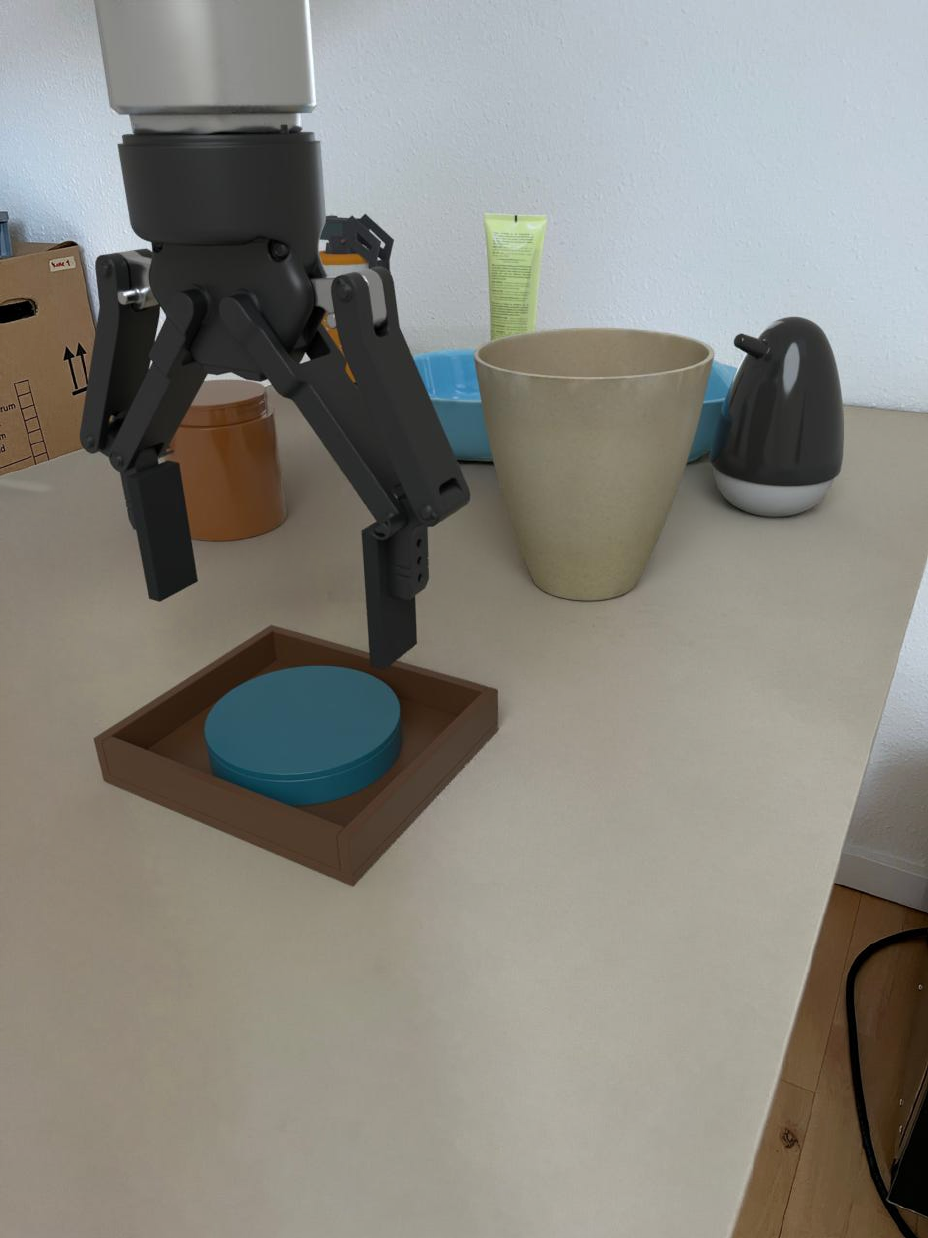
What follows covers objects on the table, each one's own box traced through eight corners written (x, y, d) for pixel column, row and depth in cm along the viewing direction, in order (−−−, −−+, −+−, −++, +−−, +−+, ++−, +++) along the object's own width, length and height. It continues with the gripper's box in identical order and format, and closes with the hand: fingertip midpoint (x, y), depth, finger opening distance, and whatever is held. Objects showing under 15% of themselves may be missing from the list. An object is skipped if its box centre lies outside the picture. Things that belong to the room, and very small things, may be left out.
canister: (350, 380, 119) (338, 208, 109) (419, 392, 113) (412, 212, 104) (300, 396, 112) (282, 215, 103) (370, 409, 107) (358, 219, 97)
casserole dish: (726, 411, 104) (733, 345, 100) (768, 478, 84) (779, 399, 81) (395, 409, 106) (392, 345, 103) (360, 474, 87) (355, 397, 83)
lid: (167, 766, 47) (160, 734, 46) (295, 677, 54) (291, 648, 53) (321, 832, 42) (317, 799, 41) (438, 725, 49) (437, 695, 48)
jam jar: (151, 528, 76) (126, 398, 71) (227, 494, 83) (210, 373, 78) (235, 549, 72) (216, 413, 67) (308, 511, 79) (295, 384, 74)
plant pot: (647, 530, 74) (663, 321, 66) (725, 616, 61) (756, 368, 53) (460, 546, 72) (455, 331, 64) (500, 638, 59) (500, 384, 51)
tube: (526, 380, 118) (528, 210, 108) (543, 389, 113) (547, 213, 104) (484, 384, 116) (483, 212, 107) (500, 394, 112) (500, 216, 102)
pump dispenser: (678, 496, 80) (696, 312, 73) (776, 478, 84) (802, 301, 77) (756, 538, 72) (784, 335, 65) (860, 516, 76) (898, 321, 69)
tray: (103, 781, 47) (92, 738, 45) (275, 662, 57) (270, 624, 55) (352, 887, 40) (348, 839, 39) (498, 730, 50) (498, 689, 49)
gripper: (563, 122, 33) (543, 648, 43) (73, 124, 44) (149, 542, 54) (454, 125, 27) (461, 732, 37) (-78, 126, 38) (39, 594, 48)
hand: (276, 621), depth 45 cm, fingers open, 13 cm apart
